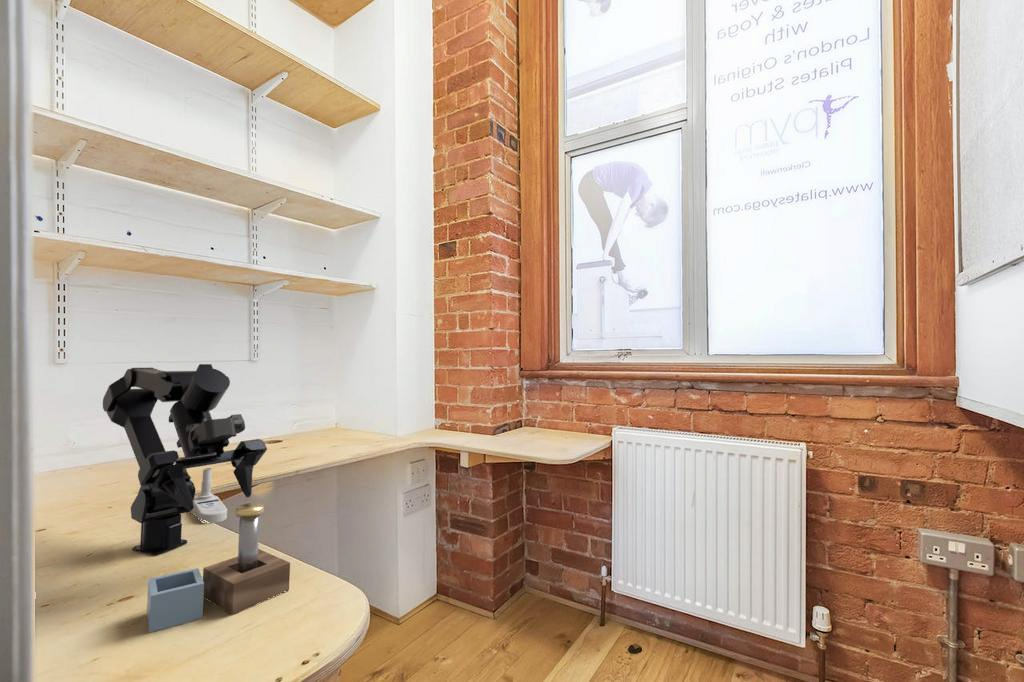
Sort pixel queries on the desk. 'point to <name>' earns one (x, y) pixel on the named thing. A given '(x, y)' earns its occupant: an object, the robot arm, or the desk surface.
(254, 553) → the pin
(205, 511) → the electronic device
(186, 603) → the holder
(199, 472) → the desk surface
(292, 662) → the desk surface
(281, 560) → the hitch block
